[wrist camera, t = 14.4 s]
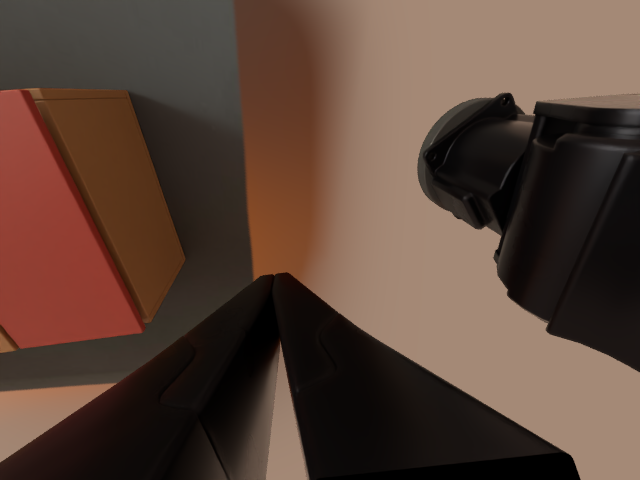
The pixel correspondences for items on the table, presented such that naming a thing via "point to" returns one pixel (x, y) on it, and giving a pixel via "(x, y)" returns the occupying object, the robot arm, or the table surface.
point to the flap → (51, 243)
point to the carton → (114, 189)
